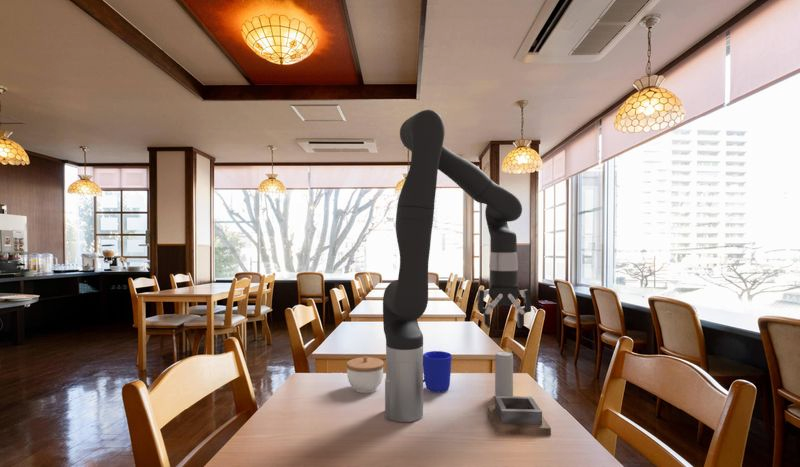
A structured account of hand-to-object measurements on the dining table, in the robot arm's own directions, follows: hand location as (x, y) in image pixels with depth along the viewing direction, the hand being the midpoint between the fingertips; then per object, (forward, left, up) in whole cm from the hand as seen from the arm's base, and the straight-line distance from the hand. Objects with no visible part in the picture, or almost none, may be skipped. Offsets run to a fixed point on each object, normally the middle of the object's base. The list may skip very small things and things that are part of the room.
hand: (504, 327), depth 116 cm
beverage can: (0, 0, -19) cm, 19 cm away
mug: (-20, +5, -19) cm, 28 cm away
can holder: (0, -16, -19) cm, 25 cm away
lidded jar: (-39, +4, -19) cm, 44 cm away
